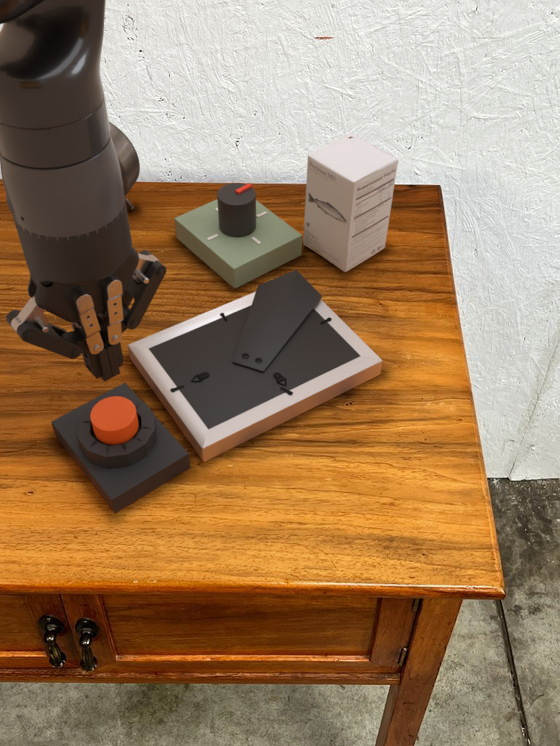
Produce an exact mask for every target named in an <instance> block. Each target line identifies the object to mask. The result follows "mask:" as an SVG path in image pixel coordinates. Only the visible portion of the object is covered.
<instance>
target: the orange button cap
mask: <svg viewBox="0 0 560 746" xmlns="http://www.w3.org/2000/svg"><path fill="white" fill-rule="evenodd" d="M90 418H91V422H92V426H93V430H94V433H95V436H96V437H97V439H98V440H99V441H101V442H103V443H105V444H108V445H119V444H123V443H125V442H127V441H129V440H131V439H132V438H133V437H134V436H135V435H136V433H137V431H138V428H139V422H138V417H137V412H136V408H135V405H134V404H133V403H132V402H131V401H130V400H129V399H127V398H124V397H119V396H113V397H108V398H105V399H103V400H101V401H99V402H98V403H97V404H96V405H95V406H94V407H93V409H92V411H91V414H90Z"/></svg>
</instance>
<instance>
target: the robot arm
mask: <svg viewBox="0 0 560 746" xmlns="http://www.w3.org/2000/svg"><path fill="white" fill-rule="evenodd" d="M106 1H107V0H0V25H2V27H1V29H0V172H1V178H2V179H1V180H2V184H3V187H4V191H5V196H6V197H5V200H6V205H7V207H8V210H9V211H10V213H11V215H12V218H13V222H14V225H15V228H16V231H17V235H18V239H19V242H20V246H21V248H22V253H23V254H24V259H25V263H26V266H27V269H28V272H29V281H28V285H27V293H28V296H29V297H30V298H29V299H28V301H27V302H26V303H25V305H24V306H23V308H22V309H21V310H19V309H12V310H11V311H9V312H8V313H7V315H6V316H5V321H6V322H7V324H8V325H9V326H10V327H11V328H12V329H13V331H14V332H15V333H16V335H17V336H18V337H19V338H20V339H21V340H22V342H25V343H27V344H30V345H32V346H35V347H37V348H41V349H43V350H46V351H49V352H51V353H54V354H56V355H59V356H62V357H65V358H67V359H70V360H75V359H77V358H79V357H80V356H81V355H82V358H83V363H84V366H85V368H86V369H87V370H88V372H90V373H91V375H92V376H93V377H94V378H95V380H98V379H101V380H102V381H103V382H107V381H109V380H111V379H113V378H115V377H116V376H118V375H120V374H121V370H120V367H123V366H124V362H125V361H124V360H125V359H124V354H123V350H122V343H121V341H122V339H123V333H125V331H126V330H135V329H137V328H138V327H139V325H140V324H141V322H142V321H143V319H144V317H145V314H146V313H147V310H148V309H149V307H150V305H151V303H152V301H153V299H154V297H155V296H156V293H157V291H158V289H159V288H160V286H161V283H162V281H163V279H164V278H165V276H166V274H167V267H166V266H165V265H164V264H163V263H162V262H161V261H160V260H159V259H158V258H157V257H156V256H155V255H153V254H152V253H151V252H150V251H149V250H147V249H143V250H141V251H140V252H138V251H137V250H136V248H134V246H133V240H132V233H131V227H130V221H129V215H128V209H127V205H126V201H125V195H124V189H123V182H122V176H121V170H120V165H119V160H118V157H117V153H116V150H115V147H114V144H113V141H112V137H111V133H110V126H109V122H110V121H109V115H108V108H107V102H106V96H105V90H104V87H103V82H102V77H101V60H102V59H101V57H102V50H103V43H104V35H105V19H106V18H105V17H106V3H107V2H106ZM132 301H133V303H132ZM131 303H132V305H131ZM130 305H131V307H130ZM129 307H130V308H129ZM45 312H48V313H49V314H52V315H54V316H56V317H58V318H60V319H61V320H64V321H66V322H68V323H70V325H71V327H72V330H70V331H68V330H67V329H64V328H63V327H60V326H58V325H55V324H54V323H53V324H52V323H51V322H49V320H48V318H47V317H46V316H45Z"/></svg>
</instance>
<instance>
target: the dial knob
mask: <svg viewBox="0 0 560 746" xmlns="http://www.w3.org/2000/svg"><path fill="white" fill-rule="evenodd" d="M216 196H217V197H216V200H217V201H218V219H219V229H220V230H221V232H222V233H224V234H225V235H228V236H231V237H243V236H247V235H249V234H251V233H252V232H253V231H254V230H255V228H256V200H257V193H256V190H255V189H254V187H253V184H251V183H243V182H231V183H227V184H225V185H223V186H221V187H220V188H219V189H218V191H217V193H216Z"/></svg>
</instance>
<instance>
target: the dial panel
mask: <svg viewBox="0 0 560 746" xmlns="http://www.w3.org/2000/svg"><path fill="white" fill-rule="evenodd" d="M173 220H174V229H175V230H174V231H175V238H176V239H177V240H178V241H179V242H180V243H182V244H183V245H184V246H185V247H186V248H187V249H188V250H189V251H191V252H192V254H194V255H195V256H197V258H199V260H201V262H203V263H204V264H205V265H207V267H209V268H210V269H211V270H212V271H213V272H215V273H216V274H217V275H218V276H219V277H220V278H221V279H223V281H225V283H227V284H228V285H229V286H231V287H232V288H233V289H234V290H236V289H237V288H239V287H242V286H243V285H246V284H247V283H249V282H252V281H254V280H255V279H258V278H260V277H261V276H263V275H265V274H268V273H269V272H270V271H273V270H276V269H277V268H279V267H281V266H283V265H285V264H288V263H289V262H291V261H293V260H295V259H297V258H299V257H300V256H302V254H303V234H301V232H299V231H298V230H297V229H295V228H294V227H292V226H291V225H290V224H288V223H287V222H286V221H284V220H283V219H282V218H280V217H279V216H278V215H276V214H275V213H274V212H273V211H271V210H270V209H268V208H267V207H266V206H264V205H263V204H262V203H261V202H259V201H258V200H257V199H256V228H255V230H254V231H253V232H252V233H251V234H249V235H247V236H243V237H231V236H228V235H225V234H224V233H222V232H221V230H220V229H219V219H218V201H217V199H214V200H212V201H210V202H208V203H205V204H203V205H201V206H198V207H196V208H194V209H192V210H190V211H188V212H185V213H183V214H181V215H178V216H176V217H174V219H173Z"/></svg>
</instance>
